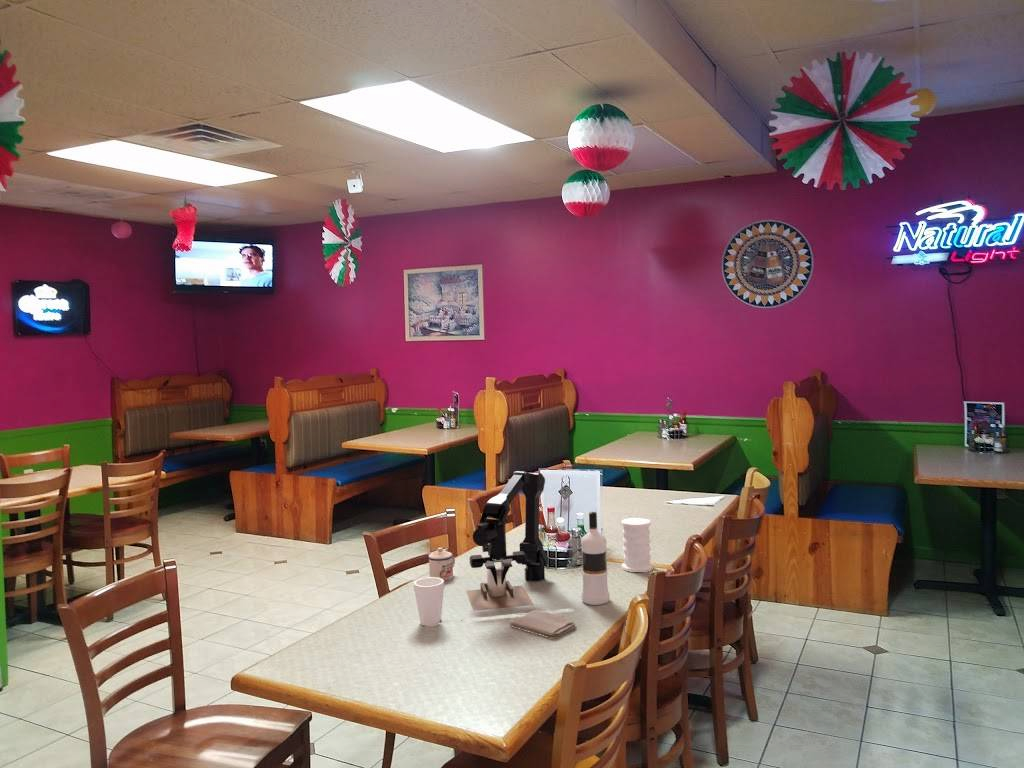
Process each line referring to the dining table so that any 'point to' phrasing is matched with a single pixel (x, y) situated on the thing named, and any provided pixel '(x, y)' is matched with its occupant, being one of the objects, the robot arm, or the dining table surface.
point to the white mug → (492, 587)
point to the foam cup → (429, 599)
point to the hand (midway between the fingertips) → (499, 584)
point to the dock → (498, 598)
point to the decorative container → (636, 545)
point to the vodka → (594, 565)
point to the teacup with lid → (441, 564)
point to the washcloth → (544, 624)
